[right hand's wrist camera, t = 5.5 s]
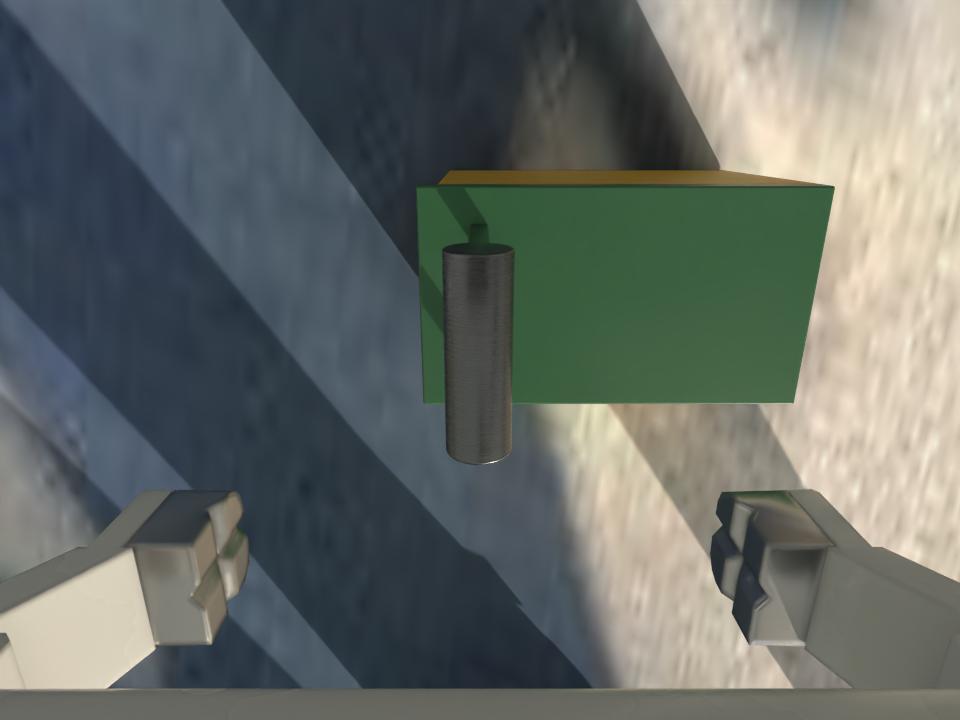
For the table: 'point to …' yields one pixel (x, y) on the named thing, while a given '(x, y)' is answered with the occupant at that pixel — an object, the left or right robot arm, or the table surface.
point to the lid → (611, 297)
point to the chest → (608, 177)
